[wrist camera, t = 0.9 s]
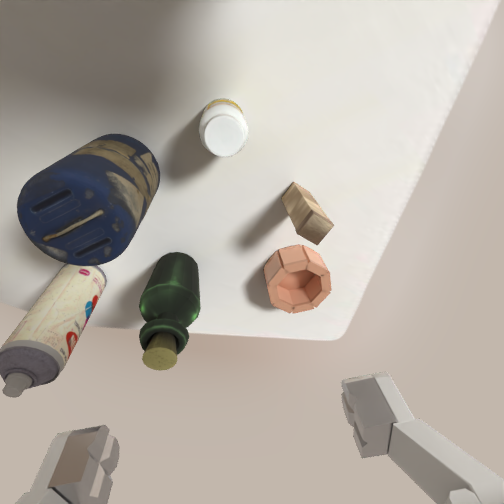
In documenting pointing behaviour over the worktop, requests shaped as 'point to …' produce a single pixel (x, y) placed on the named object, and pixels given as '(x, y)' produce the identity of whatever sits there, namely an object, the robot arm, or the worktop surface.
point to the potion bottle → (169, 309)
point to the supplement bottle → (223, 128)
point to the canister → (90, 200)
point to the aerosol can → (50, 329)
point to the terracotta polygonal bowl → (297, 279)
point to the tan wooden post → (306, 214)
